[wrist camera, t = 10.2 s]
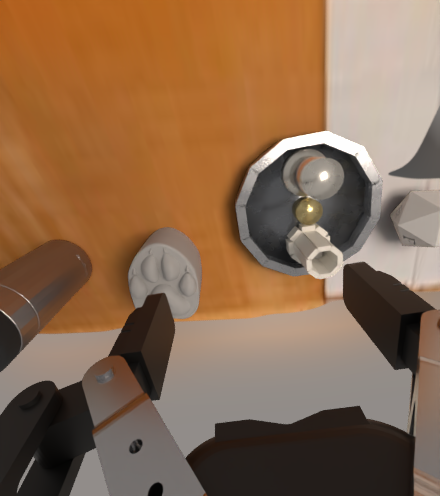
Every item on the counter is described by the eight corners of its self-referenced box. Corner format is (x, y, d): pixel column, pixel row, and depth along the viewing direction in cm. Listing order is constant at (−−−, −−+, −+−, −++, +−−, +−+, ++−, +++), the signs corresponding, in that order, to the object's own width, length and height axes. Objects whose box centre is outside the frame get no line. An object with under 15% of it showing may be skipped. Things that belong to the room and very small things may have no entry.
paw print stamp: (147, 296, 47) (133, 328, 39) (134, 229, 42) (114, 249, 34) (204, 293, 47) (201, 324, 39) (197, 225, 42) (192, 245, 34)
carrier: (245, 274, 45) (251, 305, 37) (226, 149, 37) (228, 151, 29) (366, 255, 44) (402, 282, 35) (372, 121, 36) (420, 115, 27)
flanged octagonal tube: (284, 226, 40) (299, 244, 33) (325, 219, 40) (349, 236, 33) (287, 262, 43) (302, 286, 36) (325, 255, 43) (348, 279, 35)
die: (383, 184, 40) (391, 234, 35) (460, 164, 35) (483, 221, 29) (391, 218, 45) (399, 266, 40) (459, 205, 40) (478, 259, 35)
